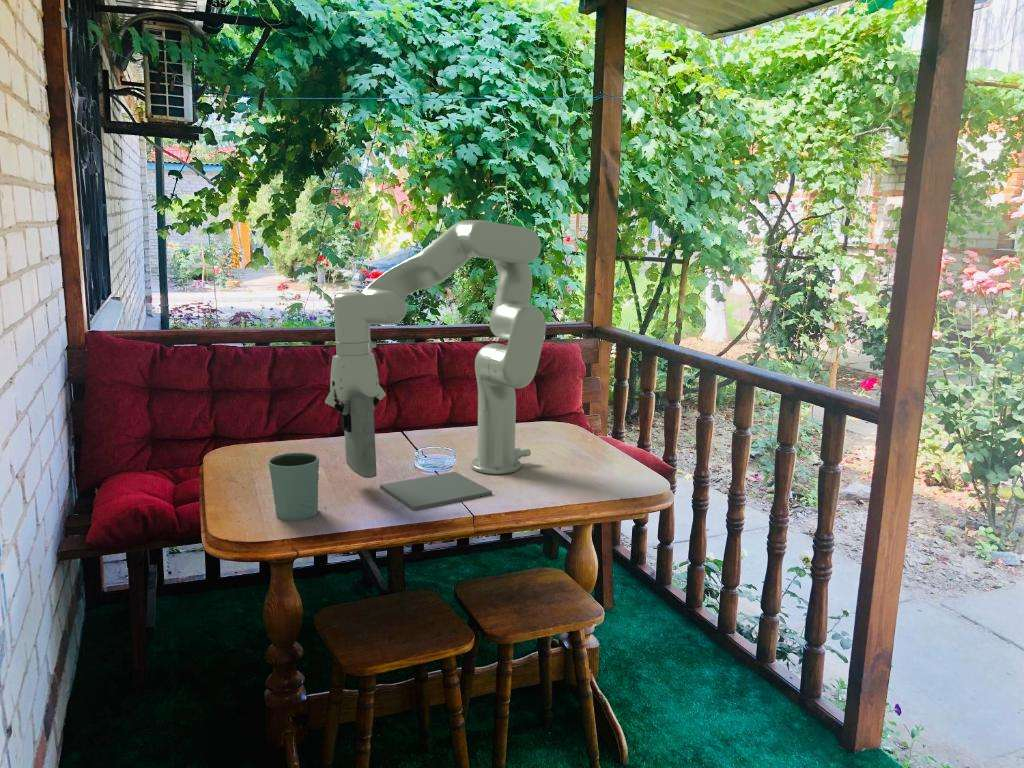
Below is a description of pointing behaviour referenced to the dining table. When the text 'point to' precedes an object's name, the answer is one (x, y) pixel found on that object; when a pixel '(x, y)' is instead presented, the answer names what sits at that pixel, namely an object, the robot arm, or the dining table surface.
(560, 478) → the dining table surface
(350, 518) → the dining table surface
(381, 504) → the dining table surface
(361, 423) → the hip flask
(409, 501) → the rubber mat
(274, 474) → the green cup
